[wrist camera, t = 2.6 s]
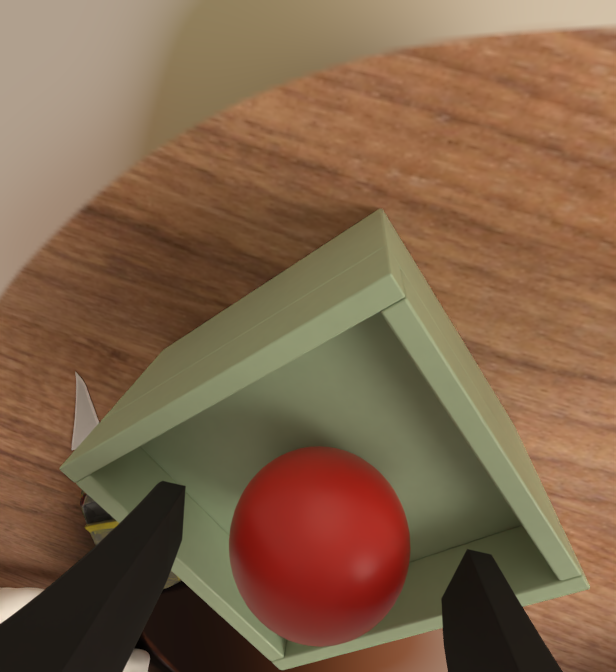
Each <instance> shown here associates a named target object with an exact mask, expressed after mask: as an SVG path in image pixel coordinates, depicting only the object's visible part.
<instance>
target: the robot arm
mask: <svg viewBox="0 0 616 672" xmlns="http://www.w3.org/2000/svg"><path fill="white" fill-rule="evenodd" d="M185 489H186V486H184V485H179V484H175V483H170V482H166V481H161V482H159V483H158V484H157V485H156V486H155V487H154V488H153V489H152V490H151V491H150V492H149V493H148V495H147V496H146V497H145V498H144V499H143V500H142V501H141V502H140V503H139V504H138V505H137V506H136V507H135V508H134V509H133V510H132V511H131V512H130V513H129V514H128V515H127V516H126V517H125V518H124V519H123V520H122V521H121V522H120V523H119V524H118V525H117V526H116V527H115V528H114V529H113V530H112V531H111V532H110V533H109V534H108V535H107V536H105V537H104V538H103V539H102V540H101V541H100V542H99V543H98V544H97V545H96V546H95V547H94V548H93V549H92V550H90V551H89V552H88V553H87V554H86V555H85V556H84V557H83V558H81V559H80V560H79V561H78V562H77V563H76V564H74V565H73V566H72V567H71V568H70V569H69V570H67V571H66V572H65V573H64V574H63V575H62V576H61V577H59V578H58V579H57V580H56V581H55V582H53V583H52V584H51V585H50V586H49V587H47V588H46V589H45V590H44V591H42V592H41V593H40V594H39V595H37V596H36V597H35V598H34V599H32V600H31V601H30V602H29V603H27V604H26V605H25V606H23V607H22V608H21V609H19V610H18V611H17V612H15V613H14V614H13V615H11V616H10V617H9V618H8V619H6V620H5V621H3V622H2V623H1V624H0V672H123V670H124V668H125V666H126V664H127V662H128V660H129V658H130V656H131V654H132V652H133V650H134V648H135V646H136V644H137V642H138V640H139V637H140V635H141V633H142V631H143V629H144V627H145V625H146V623H147V621H148V619H149V617H150V615H151V613H152V611H153V609H154V607H155V604H156V603H157V601H158V599H159V596H160V594H161V592H162V590H163V588H164V586H165V584H166V582H167V579H168V577H169V574H170V572H171V569H172V566H173V564H174V561H175V558H176V555H177V553H178V550H179V547H180V544H181V542H182V536H183V520H184V504H185ZM441 602H442V624H443V639H444V649H445V654H446V662H447V668H448V672H563V671H562V670H561V668H560V667H559V665H558V664H557V662H556V661H555V659H554V657H553V656H552V654H551V653H550V651H549V649H548V648H547V646H546V645H545V643H544V641H543V640H542V638H541V637H540V635H539V634H538V632H537V630H536V629H535V627H534V625H533V624H532V622H531V620H530V619H529V617H528V615H527V614H526V612H525V610H524V609H523V607H522V605H521V604H520V602H519V600H518V599H517V597H516V595H515V593H514V592H513V590H512V588H511V587H510V585H509V583H508V581H507V580H506V578H505V576H504V575H503V573H502V571H501V570H500V568H499V566H498V564H497V563H496V561H495V559H494V558H493V556H492V555H491V554H487V553H483V552H479V551H474V550H470V549H467V550H466V552H465V554H464V556H463V558H462V560H461V562H460V564H459V565H458V567H457V569H456V571H455V573H454V575H453V577H452V579H451V581H450V583H449V585H448V587H447V589H446V591H445V593H444V594H443V596H442V598H441Z"/></svg>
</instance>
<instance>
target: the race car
mask: <svg viewBox="0 0 616 672" xmlns="http://www.w3.org/2000/svg"><path fill="white" fill-rule="evenodd" d="M81 494H82V495H81V501H80V505H81V509H82V512H83V515H84V518H85V520H86V523H87V525H86V526H85V529H87V530H88V531H89V532H90V534H91V536H92V538H93V541H94V542H95V544H96V545H97V544H98V543H99V542H100V541H101V540H102V539H103V538H104V537H105V536H107V535H108V534H109V533H110V532H111V531H112V530H113V529H114V528H115V527H116V526H117V525H118V524H119V523H118V522H117V521H116V520H115V519H114V518H113V517H112V516H111V515H110V514H108V513H107V512H106V511H105V510H104V509H103V508H102V507H101V506H100V505H99V504H98V503H96V502H95V501H94V500H93V499H92V498H91V497H90V496H89V495H88V494H87V493H85V492H84V491H83V490H82V492H81ZM180 581H181V579H180V578H179V577H178V576H177V575H175V574H174V573H173V572H172V571H171V572H170V574H169V577H168V579H167V582H166V584H165V586H164V588H168V587H170V586H172V585H174V584H176V583H178V582H180ZM164 588H163V589H164Z"/></svg>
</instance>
